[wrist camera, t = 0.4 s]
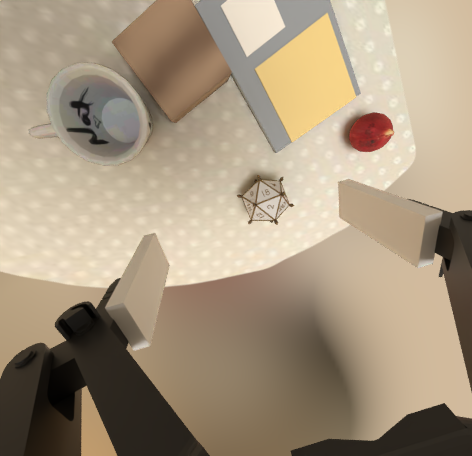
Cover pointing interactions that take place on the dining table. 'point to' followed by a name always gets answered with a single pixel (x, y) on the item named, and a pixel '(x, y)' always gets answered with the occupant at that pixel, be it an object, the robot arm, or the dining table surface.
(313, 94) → the board
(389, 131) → the red oval piece
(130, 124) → the mug
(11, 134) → the dining table surface
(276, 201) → the game die
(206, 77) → the walnut slab
